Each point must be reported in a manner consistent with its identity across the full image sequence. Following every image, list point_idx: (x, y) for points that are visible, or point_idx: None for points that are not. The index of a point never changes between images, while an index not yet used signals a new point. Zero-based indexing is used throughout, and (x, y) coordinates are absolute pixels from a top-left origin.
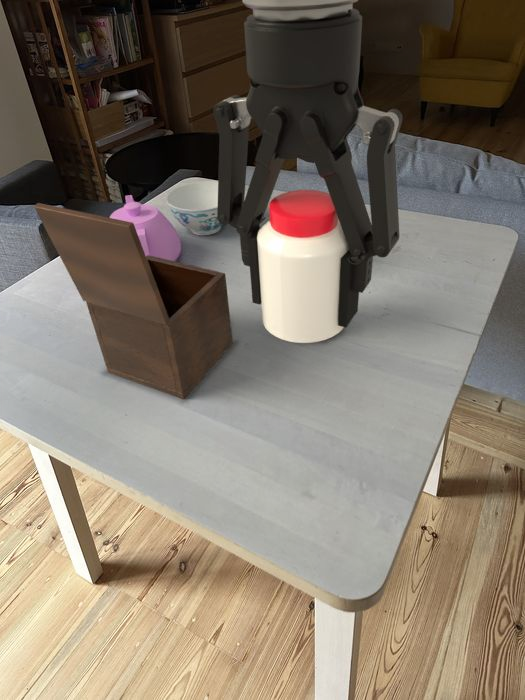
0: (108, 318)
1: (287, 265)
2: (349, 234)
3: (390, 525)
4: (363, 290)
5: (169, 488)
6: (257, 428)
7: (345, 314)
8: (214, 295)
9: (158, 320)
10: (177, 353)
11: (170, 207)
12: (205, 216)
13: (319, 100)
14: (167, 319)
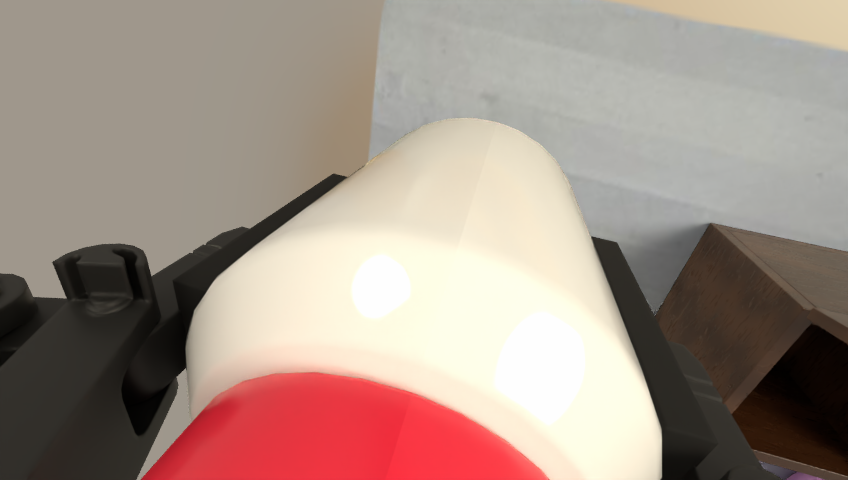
0: None
1: (422, 211)
2: (54, 382)
3: (387, 81)
4: (232, 230)
5: (704, 48)
6: (578, 190)
7: (318, 188)
8: None
9: (840, 316)
10: (755, 273)
11: None
12: None
13: None
14: (817, 318)
